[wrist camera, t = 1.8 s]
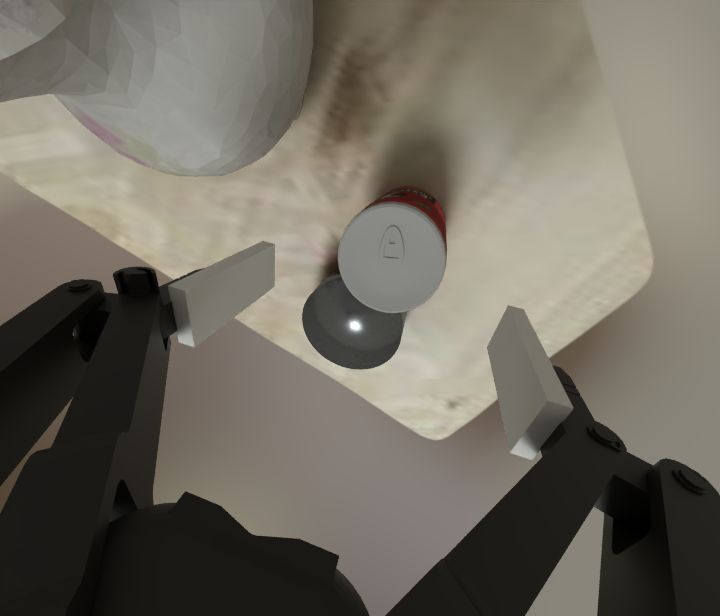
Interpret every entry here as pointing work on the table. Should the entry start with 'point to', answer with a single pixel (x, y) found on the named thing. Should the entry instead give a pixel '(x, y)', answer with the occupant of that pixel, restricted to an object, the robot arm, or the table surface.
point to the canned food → (395, 251)
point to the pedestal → (349, 327)
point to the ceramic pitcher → (165, 73)
